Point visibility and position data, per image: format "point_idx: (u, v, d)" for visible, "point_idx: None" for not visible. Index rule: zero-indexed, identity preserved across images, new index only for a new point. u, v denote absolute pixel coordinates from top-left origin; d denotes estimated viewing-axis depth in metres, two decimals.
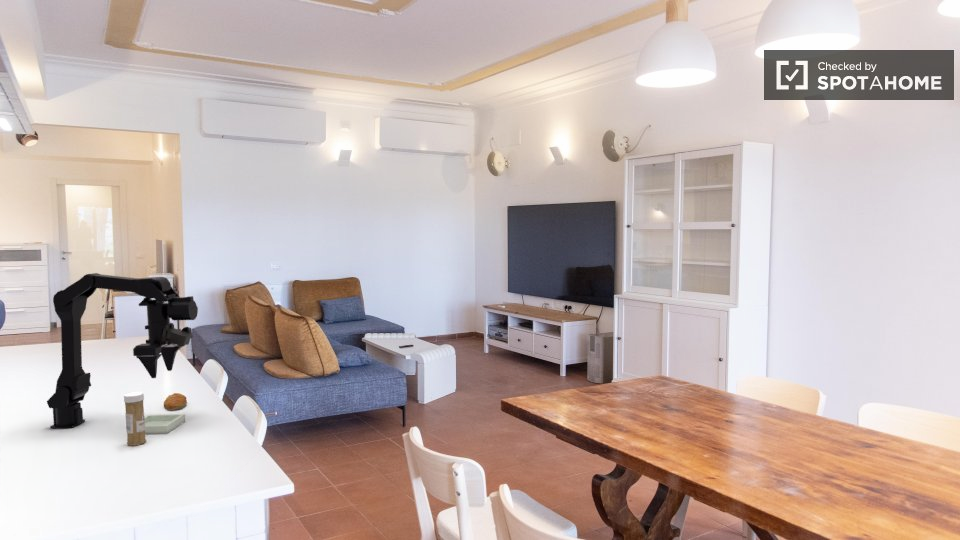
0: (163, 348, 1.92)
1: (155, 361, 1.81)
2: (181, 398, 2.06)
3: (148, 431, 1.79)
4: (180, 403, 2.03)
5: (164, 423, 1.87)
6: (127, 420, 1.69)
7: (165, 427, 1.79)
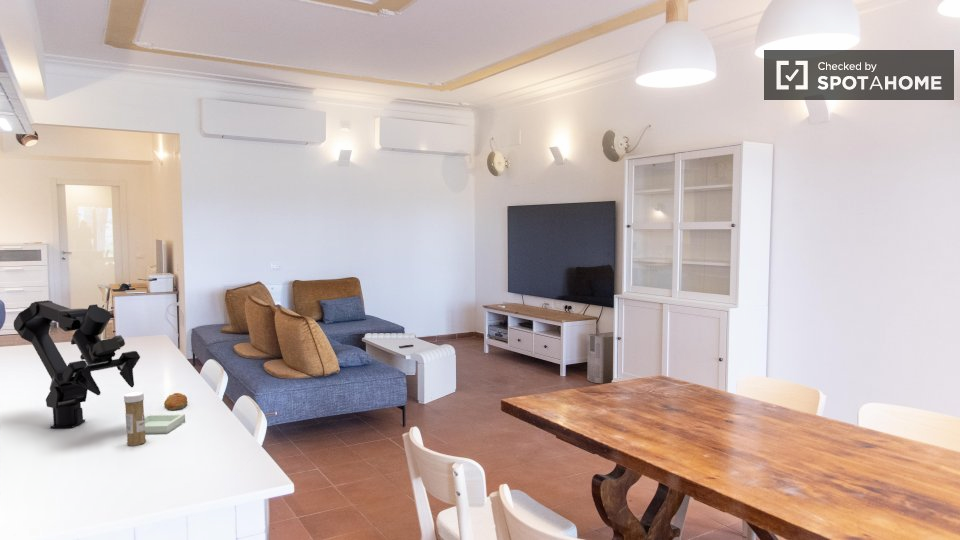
0: (121, 371, 1.82)
1: (87, 377, 1.70)
2: (182, 398, 2.06)
3: (148, 431, 1.79)
4: (181, 403, 2.03)
5: (164, 423, 1.87)
6: (127, 420, 1.69)
7: (165, 427, 1.79)
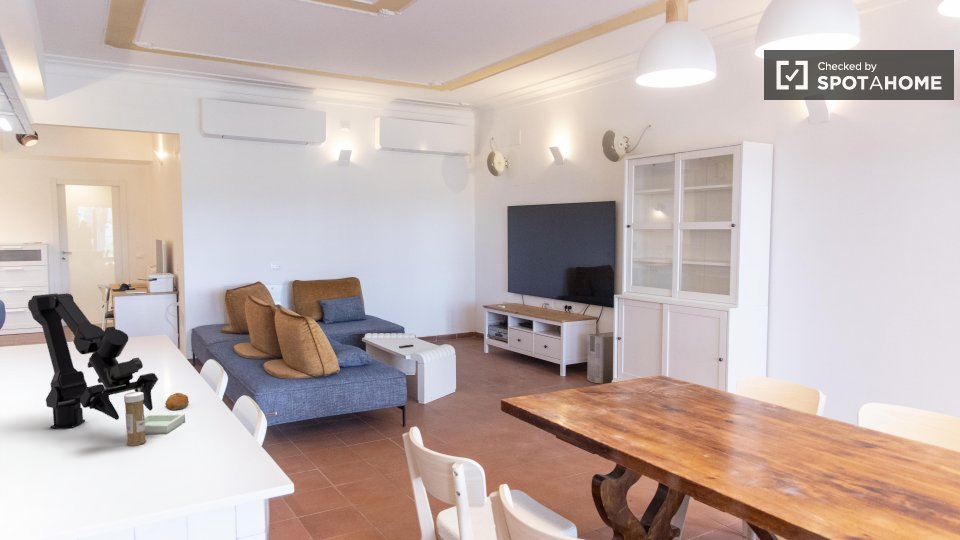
0: None
1: (105, 401, 1.67)
2: (183, 398, 2.06)
3: (148, 431, 1.79)
4: (182, 403, 2.04)
5: (164, 423, 1.87)
6: (127, 420, 1.69)
7: (165, 427, 1.79)
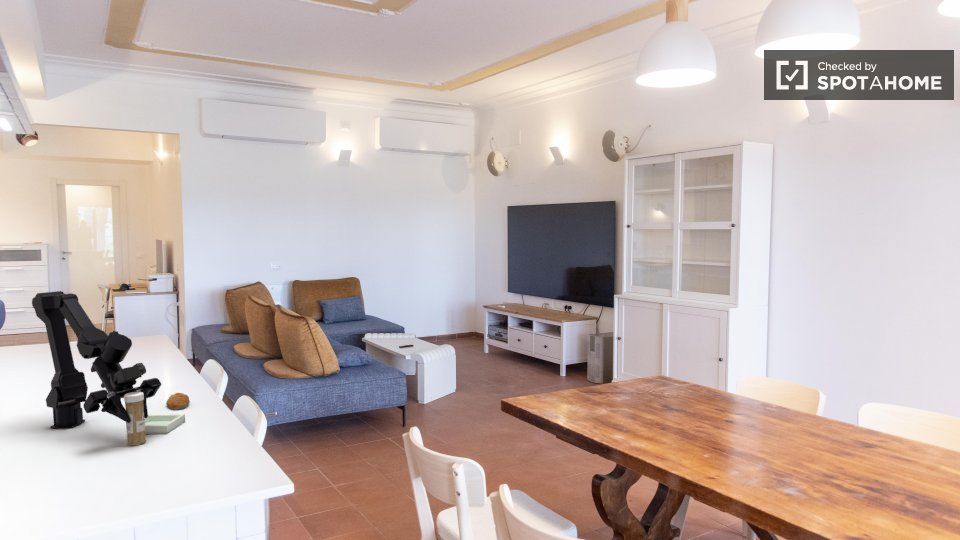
0: None
1: (117, 404, 1.68)
2: (184, 397, 2.06)
3: (148, 431, 1.79)
4: (183, 402, 2.04)
5: (164, 423, 1.87)
6: None
7: (165, 427, 1.79)
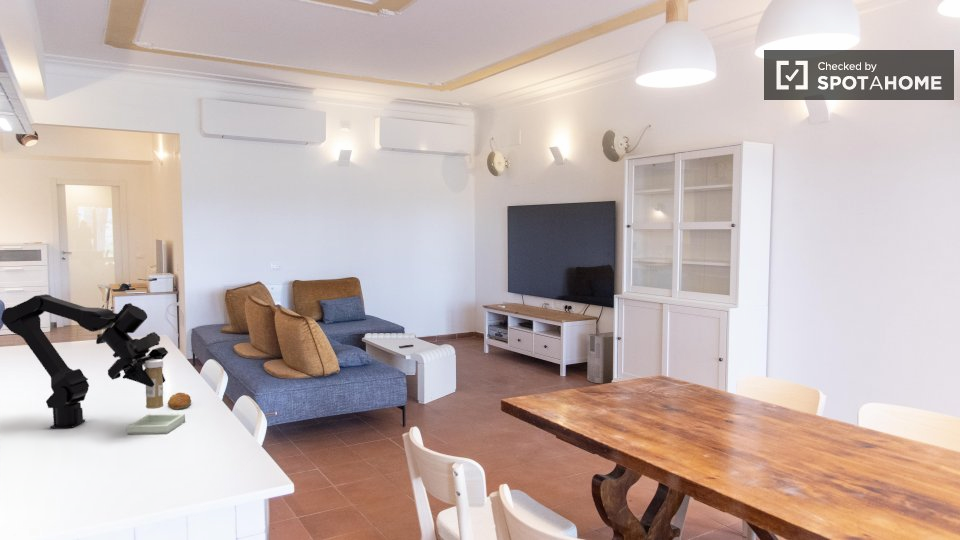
0: None
1: (141, 370, 1.80)
2: (186, 397, 2.07)
3: (148, 431, 1.79)
4: (185, 402, 2.04)
5: (164, 423, 1.87)
6: None
7: (165, 427, 1.79)
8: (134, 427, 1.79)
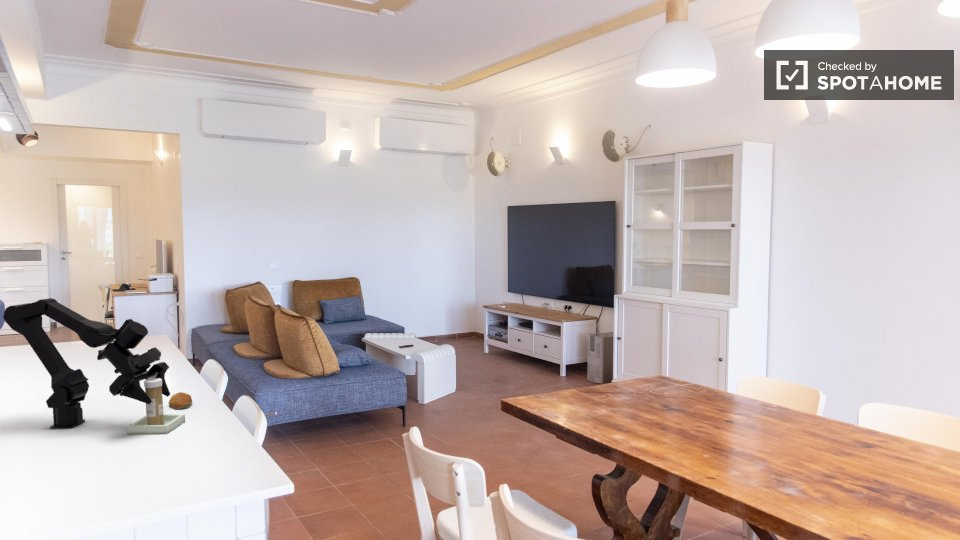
0: None
1: (138, 387, 1.79)
2: (187, 397, 2.07)
3: (148, 431, 1.79)
4: (187, 402, 2.05)
5: (164, 423, 1.87)
6: (149, 404, 1.82)
7: (165, 427, 1.79)
8: (134, 427, 1.79)
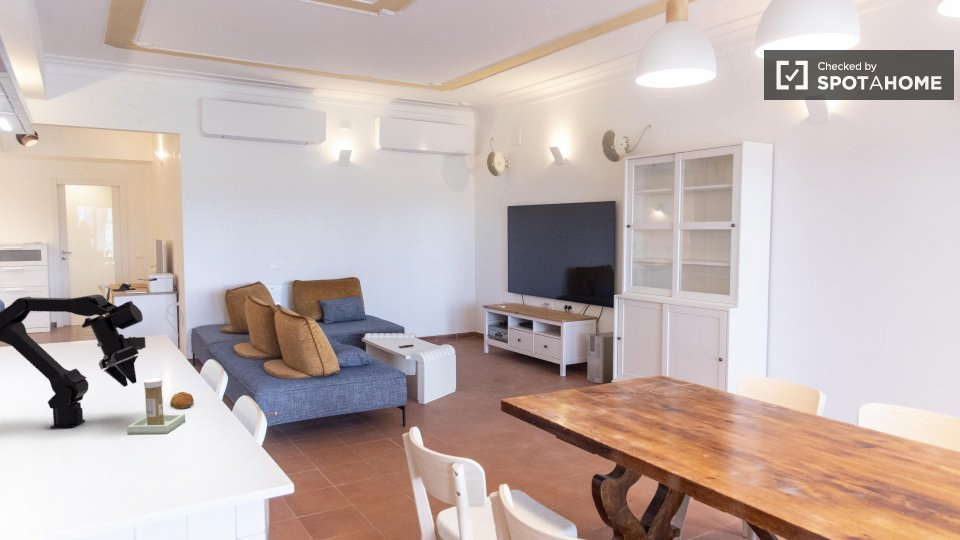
0: (110, 368, 1.91)
1: None
2: (188, 396, 2.08)
3: (148, 431, 1.79)
4: (189, 401, 2.05)
5: (164, 423, 1.87)
6: (149, 404, 1.82)
7: (165, 427, 1.79)
8: (134, 427, 1.79)
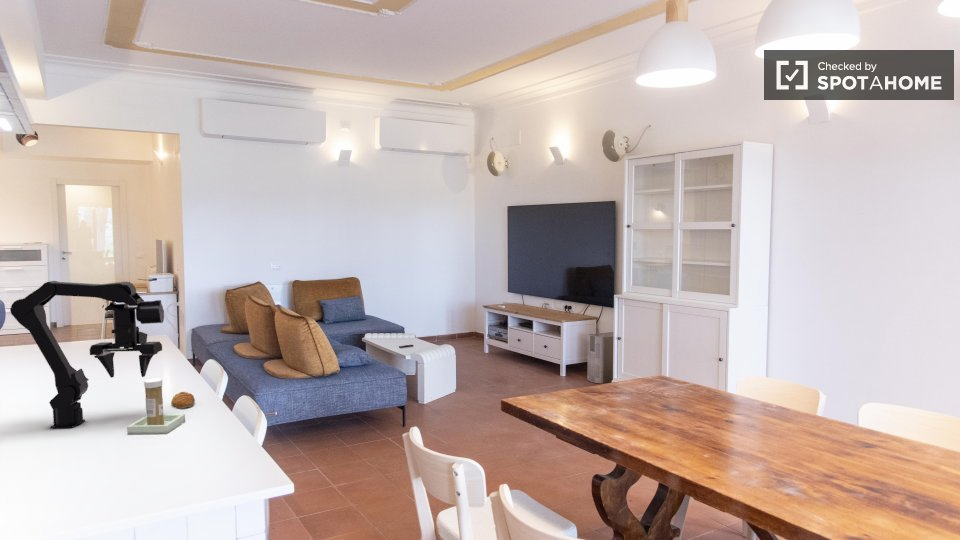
0: (106, 356, 1.90)
1: None
2: (190, 396, 2.08)
3: (148, 431, 1.79)
4: (190, 401, 2.05)
5: (164, 423, 1.87)
6: (149, 404, 1.82)
7: (165, 427, 1.79)
8: (134, 427, 1.79)
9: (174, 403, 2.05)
